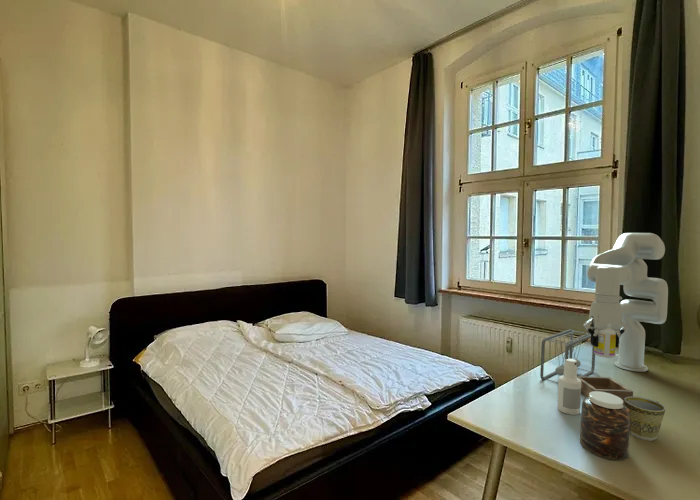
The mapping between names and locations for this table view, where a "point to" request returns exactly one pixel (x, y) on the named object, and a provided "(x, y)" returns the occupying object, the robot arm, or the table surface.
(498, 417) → the table surface
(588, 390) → the box
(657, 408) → the ceramic cup
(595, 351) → the supplement bottle
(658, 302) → the robot arm
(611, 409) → the jar
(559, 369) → the newton's cradle
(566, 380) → the spray bottle
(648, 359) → the table surface
